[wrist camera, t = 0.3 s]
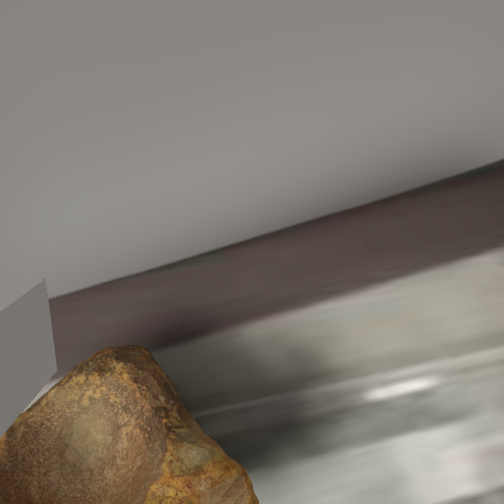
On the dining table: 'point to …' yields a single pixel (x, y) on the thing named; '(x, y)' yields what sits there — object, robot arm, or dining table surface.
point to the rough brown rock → (116, 442)
